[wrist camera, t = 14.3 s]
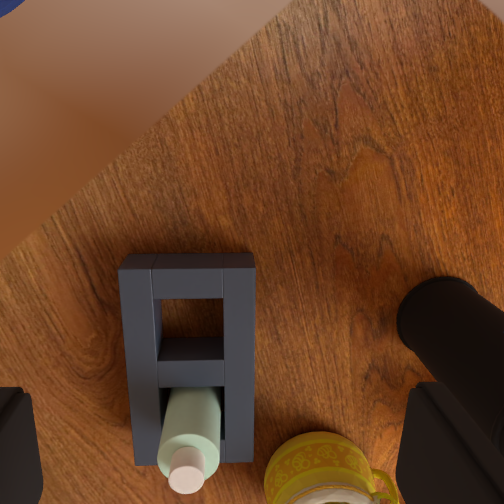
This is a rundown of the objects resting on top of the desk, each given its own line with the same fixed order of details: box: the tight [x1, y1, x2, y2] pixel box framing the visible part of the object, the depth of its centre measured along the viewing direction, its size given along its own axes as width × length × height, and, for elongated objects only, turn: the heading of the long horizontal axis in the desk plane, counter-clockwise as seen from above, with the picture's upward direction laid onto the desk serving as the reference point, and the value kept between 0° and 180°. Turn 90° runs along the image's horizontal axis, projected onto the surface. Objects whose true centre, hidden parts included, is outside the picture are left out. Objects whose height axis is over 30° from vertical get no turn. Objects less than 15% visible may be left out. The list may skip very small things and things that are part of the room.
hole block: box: [118, 253, 256, 466], centre depth 39 cm, size 11×19×4 cm, turn 0°
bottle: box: [157, 386, 221, 494], centre depth 37 cm, size 5×5×11 cm
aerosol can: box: [396, 277, 504, 457], centre depth 32 cm, size 8×8×20 cm
